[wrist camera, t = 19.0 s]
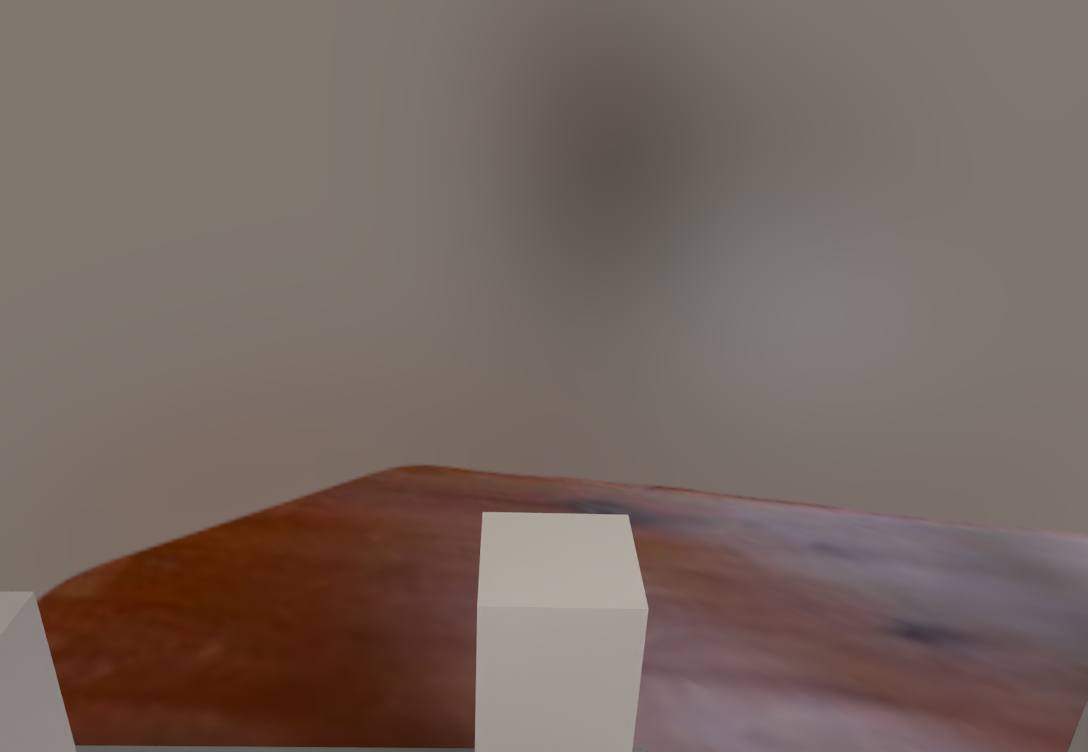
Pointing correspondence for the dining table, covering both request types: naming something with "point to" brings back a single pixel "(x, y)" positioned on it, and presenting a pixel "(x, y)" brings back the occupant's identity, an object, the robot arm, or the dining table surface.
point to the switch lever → (558, 633)
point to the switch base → (264, 749)
